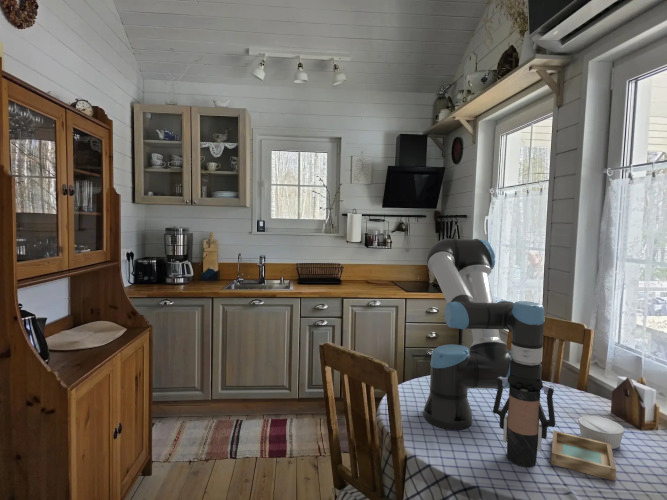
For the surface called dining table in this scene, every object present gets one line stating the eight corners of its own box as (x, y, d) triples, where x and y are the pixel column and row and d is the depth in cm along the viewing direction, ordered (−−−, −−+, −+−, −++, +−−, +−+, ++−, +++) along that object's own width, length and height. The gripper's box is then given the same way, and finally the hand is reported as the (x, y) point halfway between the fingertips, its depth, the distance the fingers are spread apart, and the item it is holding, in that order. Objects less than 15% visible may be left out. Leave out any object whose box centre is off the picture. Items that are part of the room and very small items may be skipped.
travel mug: (541, 469, 104) (544, 393, 103) (509, 465, 106) (512, 390, 105) (532, 453, 112) (536, 382, 111) (503, 450, 113) (506, 380, 112)
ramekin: (572, 440, 119) (573, 423, 119) (583, 428, 127) (584, 411, 127) (618, 456, 111) (619, 438, 111) (626, 442, 119) (627, 424, 119)
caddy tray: (551, 463, 107) (551, 452, 107) (552, 440, 119) (553, 430, 119) (615, 481, 100) (616, 469, 100) (610, 454, 112) (610, 443, 112)
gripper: (482, 357, 109) (479, 440, 110) (570, 372, 99) (566, 463, 100) (487, 350, 116) (484, 428, 117) (570, 363, 105) (566, 449, 107)
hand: (521, 444), depth 109 cm, fingers closed on travel mug, 8 cm apart
